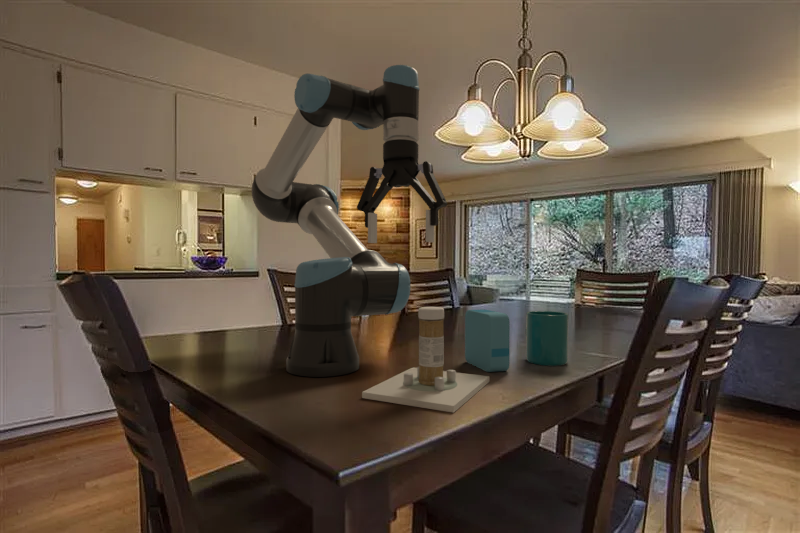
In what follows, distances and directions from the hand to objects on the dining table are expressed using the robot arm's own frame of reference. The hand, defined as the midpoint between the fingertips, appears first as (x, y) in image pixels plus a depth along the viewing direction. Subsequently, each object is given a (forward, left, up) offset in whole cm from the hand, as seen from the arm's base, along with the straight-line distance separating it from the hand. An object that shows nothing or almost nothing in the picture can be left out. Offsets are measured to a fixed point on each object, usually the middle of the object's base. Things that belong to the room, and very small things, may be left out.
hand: (400, 242), depth 96 cm
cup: (+26, +22, -27) cm, 43 cm away
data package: (+16, +10, -27) cm, 33 cm away
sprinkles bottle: (+12, -12, -26) cm, 31 cm away
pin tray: (+12, -12, -27) cm, 32 cm away
